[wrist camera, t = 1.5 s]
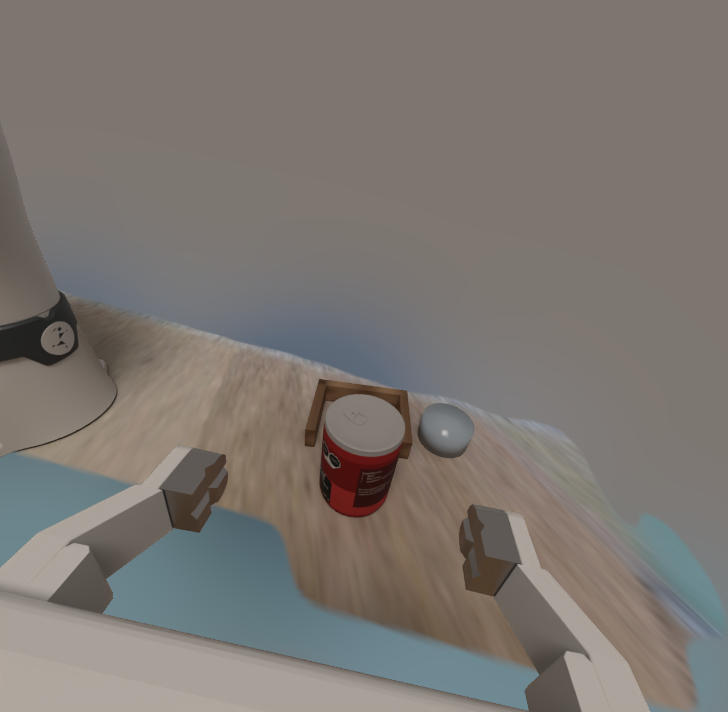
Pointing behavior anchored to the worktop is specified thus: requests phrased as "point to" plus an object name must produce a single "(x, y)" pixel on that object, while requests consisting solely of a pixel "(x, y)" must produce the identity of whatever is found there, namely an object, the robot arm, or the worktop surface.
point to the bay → (340, 389)
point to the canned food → (359, 453)
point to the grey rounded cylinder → (445, 430)
